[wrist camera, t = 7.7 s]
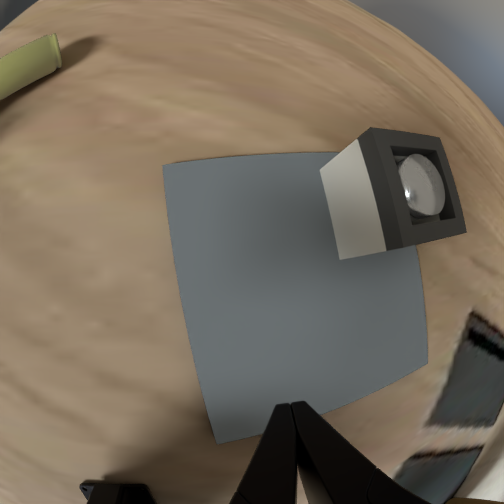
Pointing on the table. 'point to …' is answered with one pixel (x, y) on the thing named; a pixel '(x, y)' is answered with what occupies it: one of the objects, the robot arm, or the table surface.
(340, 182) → the housing
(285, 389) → the mat
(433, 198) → the button
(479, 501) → the plant pot
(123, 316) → the table surface
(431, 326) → the table surface
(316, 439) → the robot arm
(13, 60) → the cannon
